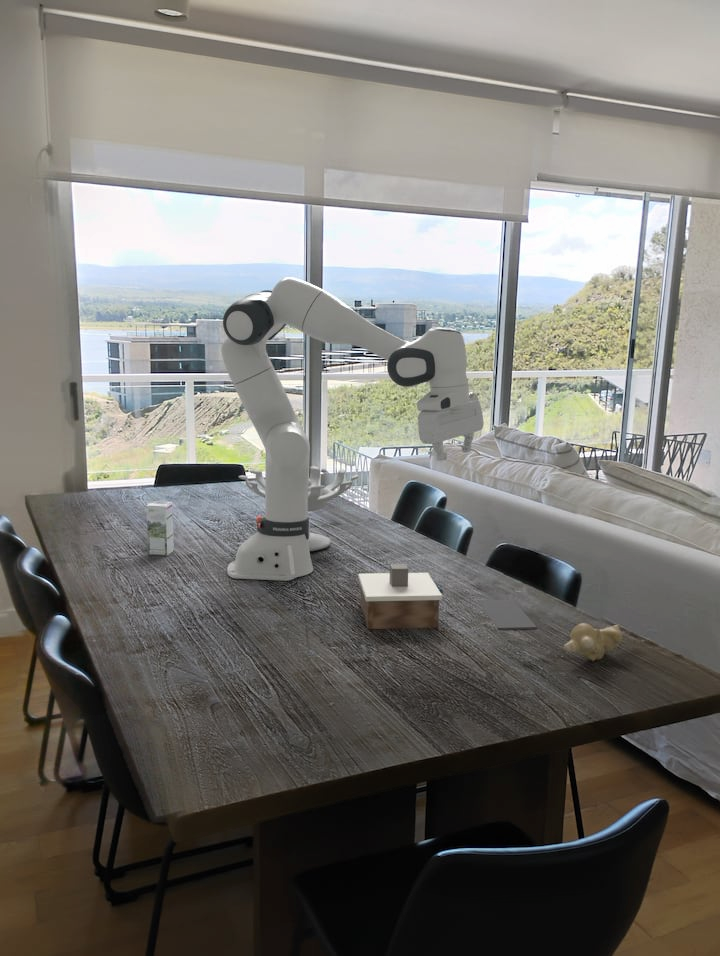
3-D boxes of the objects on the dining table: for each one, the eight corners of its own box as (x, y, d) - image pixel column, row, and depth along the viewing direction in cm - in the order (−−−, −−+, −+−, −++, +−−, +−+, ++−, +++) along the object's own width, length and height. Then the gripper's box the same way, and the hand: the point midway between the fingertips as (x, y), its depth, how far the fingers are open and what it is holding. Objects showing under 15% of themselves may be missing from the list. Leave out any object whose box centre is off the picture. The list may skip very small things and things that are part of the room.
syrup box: (174, 550, 222) (173, 501, 219) (167, 556, 216) (165, 505, 214) (154, 550, 222) (153, 500, 220) (147, 555, 217) (145, 504, 214)
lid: (365, 606, 161) (366, 578, 160) (358, 582, 177) (358, 556, 176) (441, 605, 163) (442, 577, 162) (427, 581, 179) (428, 555, 178)
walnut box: (367, 632, 163) (368, 600, 162) (360, 608, 178) (360, 578, 176) (438, 630, 165) (439, 599, 163) (425, 606, 179) (425, 577, 178)
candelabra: (362, 533, 246) (363, 447, 241) (349, 564, 211) (351, 465, 207) (256, 528, 249) (255, 444, 244) (226, 559, 215) (225, 461, 210)
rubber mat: (454, 630, 165) (454, 628, 165) (437, 602, 182) (437, 600, 182) (536, 628, 167) (536, 626, 167) (512, 600, 184) (512, 599, 184)
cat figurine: (625, 624, 153) (593, 621, 145) (627, 662, 151) (594, 661, 143) (587, 625, 159) (554, 622, 151) (589, 661, 157) (555, 660, 149)
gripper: (466, 391, 190) (470, 446, 193) (411, 404, 176) (416, 463, 179) (487, 391, 185) (491, 448, 188) (433, 404, 171) (438, 465, 174)
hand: (454, 456), depth 183 cm, fingers open, 8 cm apart
